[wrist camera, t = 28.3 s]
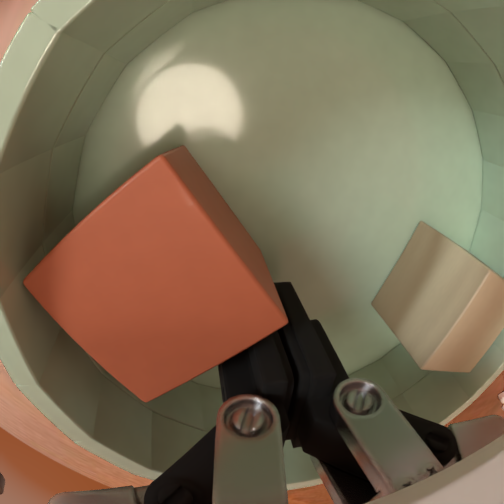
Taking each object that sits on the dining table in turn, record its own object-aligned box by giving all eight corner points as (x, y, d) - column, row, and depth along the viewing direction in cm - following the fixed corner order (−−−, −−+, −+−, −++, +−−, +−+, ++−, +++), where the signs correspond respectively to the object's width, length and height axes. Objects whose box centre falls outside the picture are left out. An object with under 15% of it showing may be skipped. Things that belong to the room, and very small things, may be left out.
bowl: (114, 402, 13) (105, 500, 9) (60, -20, 6) (-27, -83, 1) (423, 362, 17) (469, 426, 12) (499, 51, 9) (594, 64, 4)
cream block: (369, 303, 12) (420, 370, 9) (419, 219, 11) (491, 269, 8) (423, 319, 14) (469, 373, 10) (467, 250, 12) (525, 295, 9)
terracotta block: (83, 225, 9) (20, 282, 5) (183, 143, 8) (161, 152, 5) (162, 317, 10) (145, 404, 7) (261, 251, 10) (291, 323, 6)
